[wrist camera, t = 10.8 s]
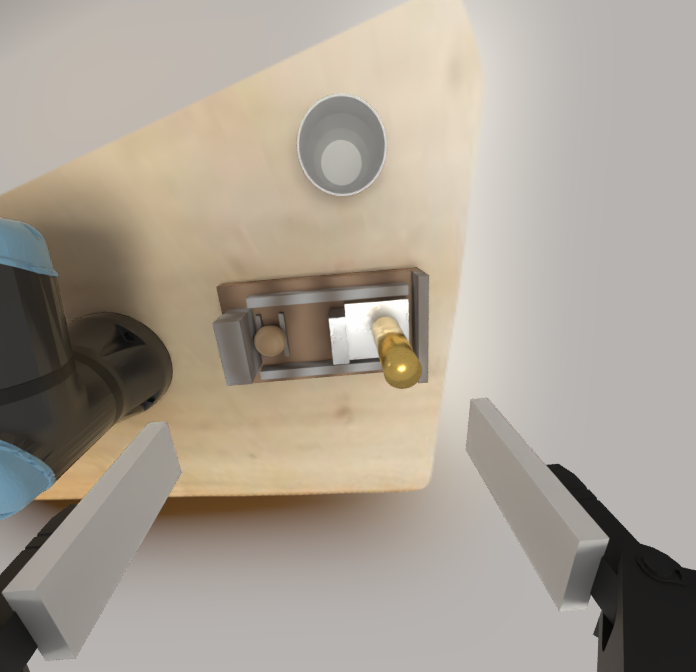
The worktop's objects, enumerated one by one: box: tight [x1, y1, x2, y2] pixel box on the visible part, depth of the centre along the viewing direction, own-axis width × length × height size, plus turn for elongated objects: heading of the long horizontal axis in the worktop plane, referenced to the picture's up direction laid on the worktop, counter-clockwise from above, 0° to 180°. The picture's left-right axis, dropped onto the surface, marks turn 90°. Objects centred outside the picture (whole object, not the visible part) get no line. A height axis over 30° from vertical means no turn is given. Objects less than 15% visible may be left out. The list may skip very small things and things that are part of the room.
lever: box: [329, 296, 422, 389], centre depth 37 cm, size 10×8×14 cm
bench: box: [213, 267, 429, 386], centre depth 42 cm, size 26×14×8 cm, turn 94°
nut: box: [254, 325, 286, 357], centre depth 42 cm, size 4×4×4 cm
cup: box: [297, 93, 387, 196], centre depth 34 cm, size 8×8×10 cm
